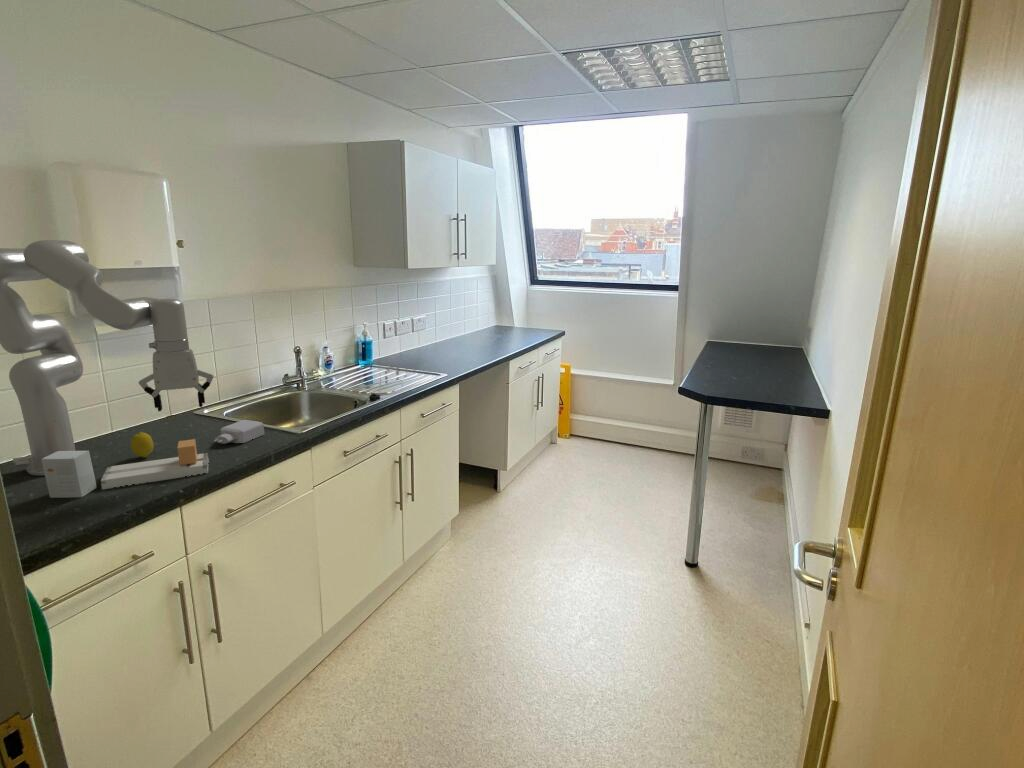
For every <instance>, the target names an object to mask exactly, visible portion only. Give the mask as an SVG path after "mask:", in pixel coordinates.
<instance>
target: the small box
mask: <svg viewBox="0 0 1024 768" xmlns="http://www.w3.org/2000/svg"><path fill="white" fill-rule="evenodd" d="M41 461H42V465H43V470H44V474H45V475H44V477H45V482H46V486H47V491H48V494H49V498H51V499H54V498H57V499H58V498H61V499H62V498H83V497H84V496H86V495H88V494H89V493H91V492H93V491H94V490H95V489H97V488H98V487H97V481H96V477H95V473H94V467H93V464H92V459H91V454H90V450H76V451H57V452H55V453H53V454H51V455H49V456H47V457H44V458H42V459H41Z"/></svg>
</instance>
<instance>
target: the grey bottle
mask: <svg viewBox="0 0 1024 768" xmlns="http://www.w3.org/2000/svg"><path fill="white" fill-rule="evenodd" d="M264 435H265V425H264V423H263V422H262V421H256V420H249V419H241V420H239V421H236V422H234V423H231V424H228V425H226V426H223V427H221V428H220V434H219V435H218V436H215V438H214V440H213V442H214V443H216V442H217V443H219V444H222V445H223V444H224V445H226V444H228V443H233V444H238V443H243V444H245V443H247V442H250V441H252V439H253V440H255V439H257V438H259V437H261V436H264Z"/></svg>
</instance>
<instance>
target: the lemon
mask: <svg viewBox="0 0 1024 768" xmlns="http://www.w3.org/2000/svg"><path fill="white" fill-rule="evenodd" d="M154 445H155V444H154V441H153V439H152V436H151V435H149V434H148V433H147V432H143V431H139V432H138V433H136V434H135V435H133V437H132V438H131V441H130V449H131V451H132V453H133V454H134V455H136V456H137V457H141V458H146V457H147V456H149V455H150V454H151V453H152V452H153V450H154Z"/></svg>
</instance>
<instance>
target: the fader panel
mask: <svg viewBox="0 0 1024 768" xmlns="http://www.w3.org/2000/svg"><path fill="white" fill-rule="evenodd" d="M209 462H210V460H209V454H208V452H205V453H204V452H203V453H197V463H192V464H185V465H180V463H179V456H175V457H169V458H162V459H154V460H147V461H140V462H131V463H126V464H125V463H123V464H119V465H118V464H117V465H111V466H107V467H106V469H105V471H104V473H103V475H102V477H101V479H100V483H101V484H100V485H101V490H108V489H115V488H114V487H116V488H121V487H120V486H122V487H126V486H125V485H128V486H133V485H132V484H135V485H141V484H146V483H147V482H148V483H155V482H160V481H165V480H173V479H179V478H185V476H187V477H192V476H191V475H193V476H198V475H197V474H200V475H204V474H203V473H206V474H209V464H210V463H209ZM208 463H209V464H208ZM140 483H141V484H140ZM148 483H147V484H148Z"/></svg>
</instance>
